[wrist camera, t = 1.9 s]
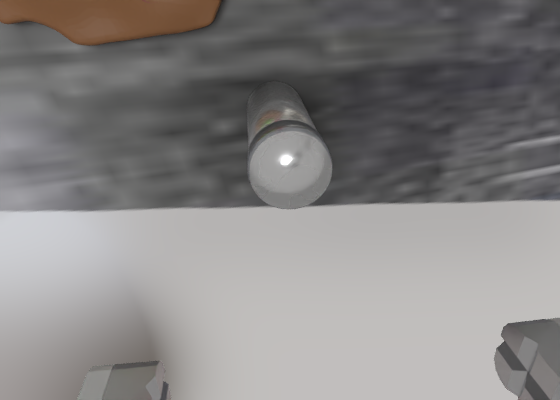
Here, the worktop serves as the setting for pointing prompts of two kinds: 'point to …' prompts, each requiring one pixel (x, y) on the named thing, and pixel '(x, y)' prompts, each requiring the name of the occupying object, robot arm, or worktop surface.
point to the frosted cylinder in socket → (285, 148)
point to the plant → (111, 17)
